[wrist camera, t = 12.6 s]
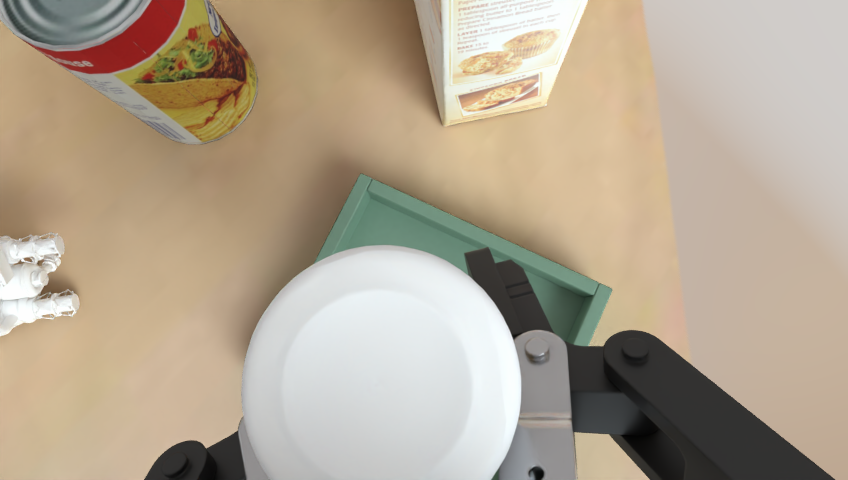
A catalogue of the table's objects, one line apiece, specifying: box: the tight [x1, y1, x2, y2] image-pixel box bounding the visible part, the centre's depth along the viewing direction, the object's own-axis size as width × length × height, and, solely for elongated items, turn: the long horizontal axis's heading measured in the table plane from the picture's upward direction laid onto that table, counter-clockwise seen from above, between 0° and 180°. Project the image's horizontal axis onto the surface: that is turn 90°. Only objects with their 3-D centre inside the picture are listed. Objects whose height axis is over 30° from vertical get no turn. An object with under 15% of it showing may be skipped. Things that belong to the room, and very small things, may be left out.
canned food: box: [0, 0, 258, 144], centre depth 29 cm, size 8×8×12 cm
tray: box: [314, 174, 612, 480], centre depth 30 cm, size 16×14×3 cm
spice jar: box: [241, 245, 521, 480], centre depth 15 cm, size 5×4×13 cm
